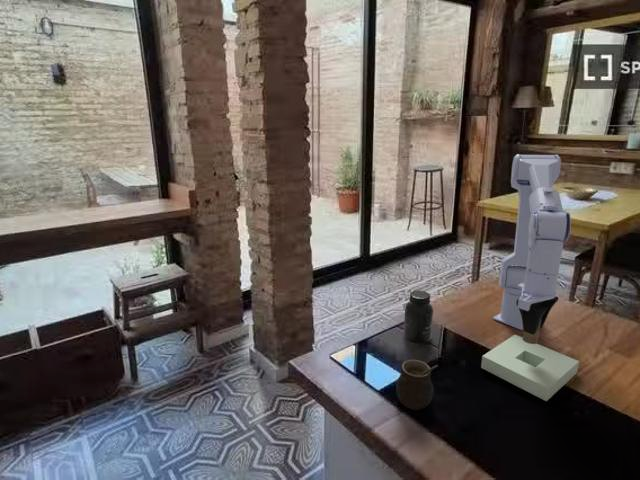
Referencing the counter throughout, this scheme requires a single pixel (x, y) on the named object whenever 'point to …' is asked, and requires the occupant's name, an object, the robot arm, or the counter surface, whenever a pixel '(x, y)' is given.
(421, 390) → the mate gourd
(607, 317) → the counter surface
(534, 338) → the dowel
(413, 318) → the supplement bottle
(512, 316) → the robot arm
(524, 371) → the socket block
